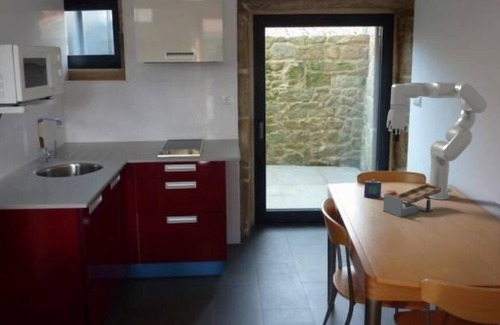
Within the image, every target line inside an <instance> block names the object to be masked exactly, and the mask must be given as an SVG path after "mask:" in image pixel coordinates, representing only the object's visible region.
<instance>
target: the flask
mask: <svg viewBox="0 0 500 325" xmlns="http://www.w3.org/2000/svg"><path fill="white" fill-rule="evenodd" d="M375 179H376V178H372V179H371V180H365V181H364V192H363V197H364V198H366V199H380V198H382V181H375Z"/></svg>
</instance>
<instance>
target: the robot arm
mask: <svg viewBox="0 0 500 325" xmlns="http://www.w3.org/2000/svg"><path fill="white" fill-rule="evenodd" d="M419 97H422V98H423V97H424V98H431V99H461V101H460V115H459V117H457V120H456V121H455V122H454V123H453V124H452V125H451V126H450V127H449V128H448V130H447V131H446V132H445V136H444V138H445V140H446V141H444V140H436V141H434V142H433V143H432V144H431V146H430V149H429V150H430V152H429V153H430V172H429V173H430V174H429V182H428V183H429V185H433V186H436V187H440V188H441V192H439V193H437V194H434V195H432V196H430V198H431V200H438V201H440V200H442V201H443V200H449V199H450V197H451V196H450V195H449V193H451V192H452V191H453V189H452V188H448V185H449V172H450V162H453V161H455V160H456V159H458V158H459V157H460V156H461V155H462V153H463V152H464V151H465V150H466V149H467V148H468V147H469V145H471V143H472V140H473V132H472V131H471V129H472V128H473V126H474V124H475V123H476V114H481V113H484V112H485V111H486V109H487V107H488V104H487V100H486V98H484V96H483V95H481V93H480V92H479V91H478V89H476V87H474V86H473V85H472V84H470V83H468V82H462V81H434V82H431V81H430V82H405V83H393V84H392V85H391V91H390V107H389V108H390V109H389V110H388V113H387V118H386V119H387V120H386V128H387V129H388V130H387V131H388V132H390V133H391V134H392V139H391V140H392V142H394V143H399V142H400V134H401V132H402V131H404V130H405V127H406V124H407V123H406V122H407V116H406V115H407V113H406V98H409V99H417V98H419Z"/></svg>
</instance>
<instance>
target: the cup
mask: <svg viewBox="0 0 500 325" xmlns="http://www.w3.org/2000/svg"><path fill="white" fill-rule="evenodd" d="M403 204H405V206H406V208H403V209H402V206H403ZM412 204H413V203H411V204H409V203H407V201H404V200H403V199H400V198H396V197H393V196H390V195H387V194H385V193H384V194H383V208H382V209H383V210H382V211H383V212H384V213H386V212H387V213H388V214H389V213H390V214H389V215H392V214H393V216H395V215H396V217H397V218H398V217H399V218H404V217H409V216H414V215H417V214H418V210H417V207H418V206H419V205H418V206H416V205H417V204H414V205H412Z"/></svg>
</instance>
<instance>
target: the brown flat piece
mask: <svg viewBox="0 0 500 325" xmlns="http://www.w3.org/2000/svg"><path fill="white" fill-rule="evenodd" d="M439 192H441V188H440V187H436V186H433V185H429V184H428V183H424V184H422V185H419V186H416V187H415V188H414V187H413V188H412V189H408V190H406V191H404V192H400V193H398V192H397V191H396V190H395V189H389V190H386V192H385V193H384V194H387V195H390V196H393V197H396V198H400V199H403V202H406V203H407V202H410V203H411V204H416V203H417V202H419V201H422V200H424V199H425V200H432V198H430V196H432V195H434V194H437V193H439Z"/></svg>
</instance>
